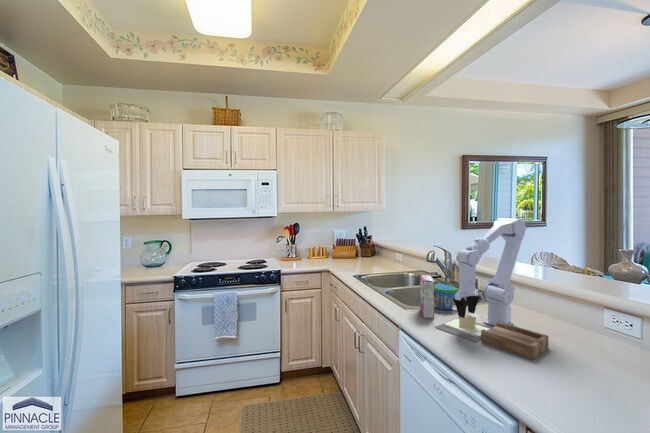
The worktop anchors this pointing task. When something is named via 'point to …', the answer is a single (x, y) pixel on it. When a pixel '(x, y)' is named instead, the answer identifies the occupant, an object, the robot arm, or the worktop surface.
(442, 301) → the snack cup
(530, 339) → the walnut box
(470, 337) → the charcoal mat
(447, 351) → the worktop surface
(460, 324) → the cover plate
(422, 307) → the candy bar box
